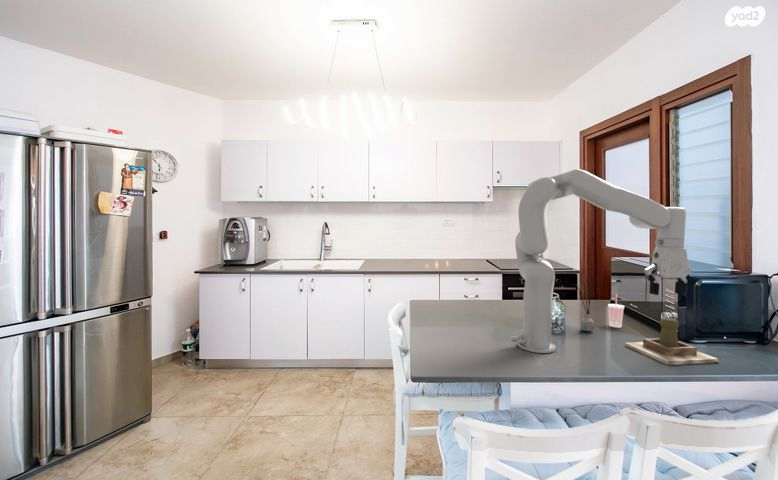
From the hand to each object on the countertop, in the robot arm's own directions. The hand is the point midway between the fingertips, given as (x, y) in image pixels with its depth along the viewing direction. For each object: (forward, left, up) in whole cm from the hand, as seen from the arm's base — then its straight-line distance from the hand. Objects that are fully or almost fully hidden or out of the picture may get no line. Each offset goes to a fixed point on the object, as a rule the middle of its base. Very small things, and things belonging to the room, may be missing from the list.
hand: (666, 294), depth 128 cm
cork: (+1, 0, -20) cm, 20 cm away
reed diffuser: (-11, +27, -21) cm, 36 cm away
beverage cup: (+7, +32, -21) cm, 39 cm away
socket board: (+1, -1, -21) cm, 21 cm away
